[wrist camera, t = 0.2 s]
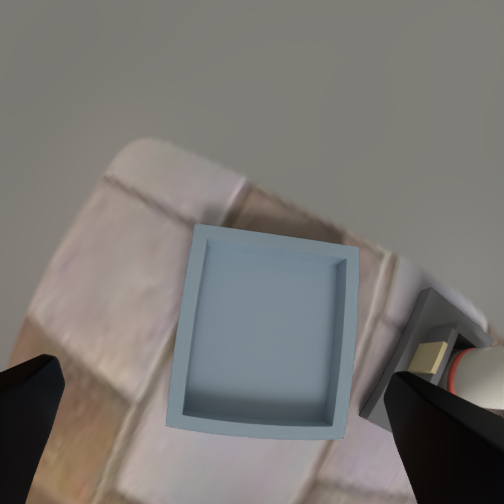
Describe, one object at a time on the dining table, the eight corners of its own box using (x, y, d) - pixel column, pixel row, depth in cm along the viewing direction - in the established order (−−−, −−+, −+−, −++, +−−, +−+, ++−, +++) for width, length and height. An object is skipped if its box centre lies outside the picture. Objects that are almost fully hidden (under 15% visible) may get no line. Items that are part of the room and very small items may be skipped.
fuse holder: (434, 452, 19) (465, 463, 15) (358, 415, 20) (387, 427, 16) (483, 341, 23) (516, 336, 19) (421, 290, 24) (454, 278, 20)
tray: (331, 430, 20) (343, 439, 18) (171, 417, 19) (165, 426, 17) (346, 257, 24) (359, 247, 22) (197, 235, 24) (195, 223, 21)
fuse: (446, 410, 19) (556, 421, 8) (414, 390, 20) (533, 400, 8) (467, 363, 21) (574, 352, 9) (436, 340, 21) (552, 320, 10)
